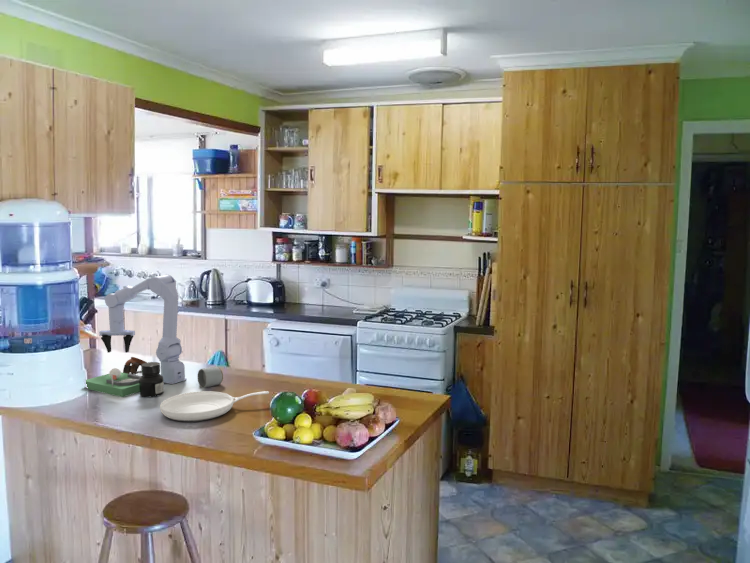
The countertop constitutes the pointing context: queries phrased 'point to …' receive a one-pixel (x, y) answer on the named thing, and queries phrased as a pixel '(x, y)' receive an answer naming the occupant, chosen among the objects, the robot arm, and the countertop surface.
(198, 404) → the pan
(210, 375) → the ceramic mug
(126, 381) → the mat
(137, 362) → the pottery mug
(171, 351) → the robot arm
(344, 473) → the countertop surface
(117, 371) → the ball
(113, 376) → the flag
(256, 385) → the countertop surface
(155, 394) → the ink bottle
